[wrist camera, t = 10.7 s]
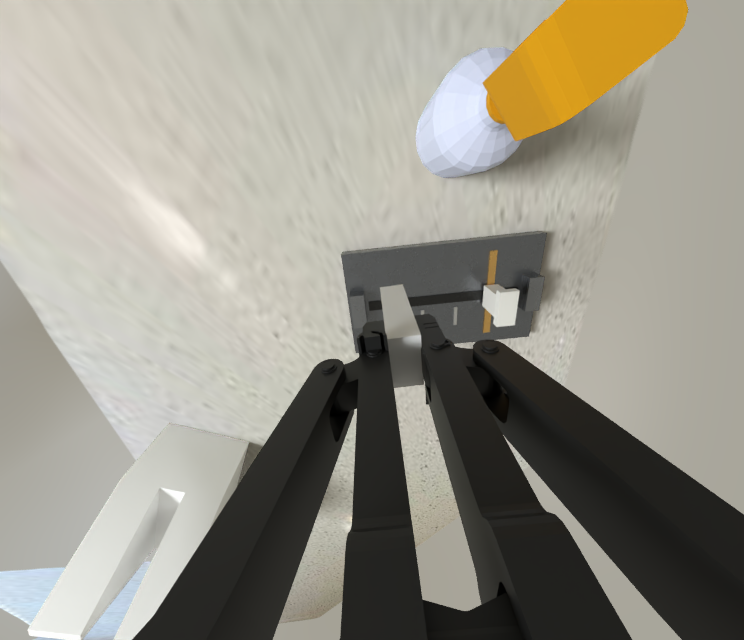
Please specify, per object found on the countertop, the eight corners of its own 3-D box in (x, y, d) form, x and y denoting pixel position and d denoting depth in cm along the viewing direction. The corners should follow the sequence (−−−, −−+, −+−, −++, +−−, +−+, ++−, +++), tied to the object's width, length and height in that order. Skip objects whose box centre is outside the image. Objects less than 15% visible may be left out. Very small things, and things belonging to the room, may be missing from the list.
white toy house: (234, 496, 62) (157, 670, 39) (164, 482, 59) (38, 659, 36) (249, 441, 54) (165, 617, 32) (169, 422, 52) (16, 598, 29)
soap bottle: (502, 139, 33) (790, 19, 11) (443, 193, 35) (573, 190, 13) (462, 68, 30) (741, -303, 8) (400, 133, 32) (474, -3, 10)
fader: (482, 280, 38) (500, 292, 33) (499, 278, 38) (519, 290, 33) (480, 310, 40) (496, 327, 35) (496, 309, 40) (514, 325, 35)
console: (342, 251, 38) (339, 257, 35) (538, 231, 38) (556, 234, 34) (356, 346, 45) (355, 360, 41) (522, 330, 44) (536, 342, 41)
